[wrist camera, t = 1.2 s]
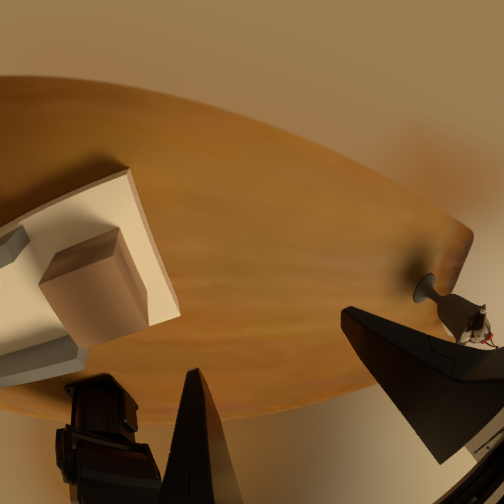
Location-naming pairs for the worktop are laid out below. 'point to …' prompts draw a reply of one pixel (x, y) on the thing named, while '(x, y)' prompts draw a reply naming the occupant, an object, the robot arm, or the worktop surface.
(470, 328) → the sundae
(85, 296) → the walnut block
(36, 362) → the lane walls
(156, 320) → the deck
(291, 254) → the worktop surface
